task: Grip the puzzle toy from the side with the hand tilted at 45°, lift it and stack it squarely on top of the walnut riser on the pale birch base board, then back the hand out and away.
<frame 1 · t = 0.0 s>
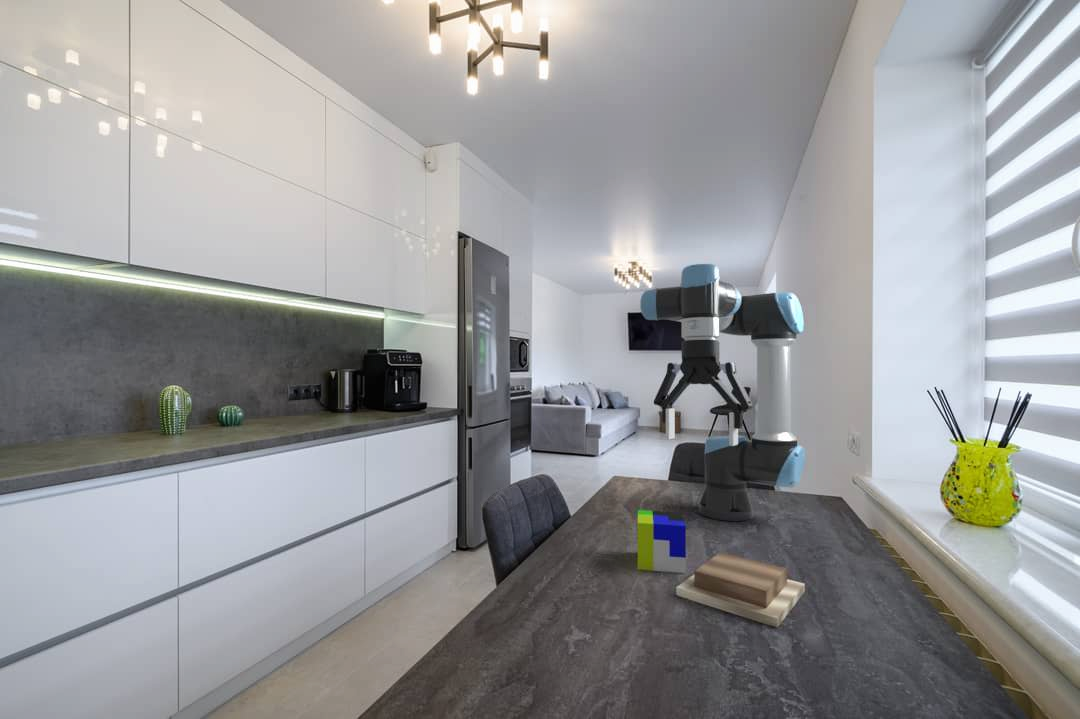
hand: (700, 441, 103), 28 cm above the table, tool pointing down, fingers open, 13 cm apart
build plinth: (741, 593, 95), on the table
puzzle toy: (660, 563, 111), on the table
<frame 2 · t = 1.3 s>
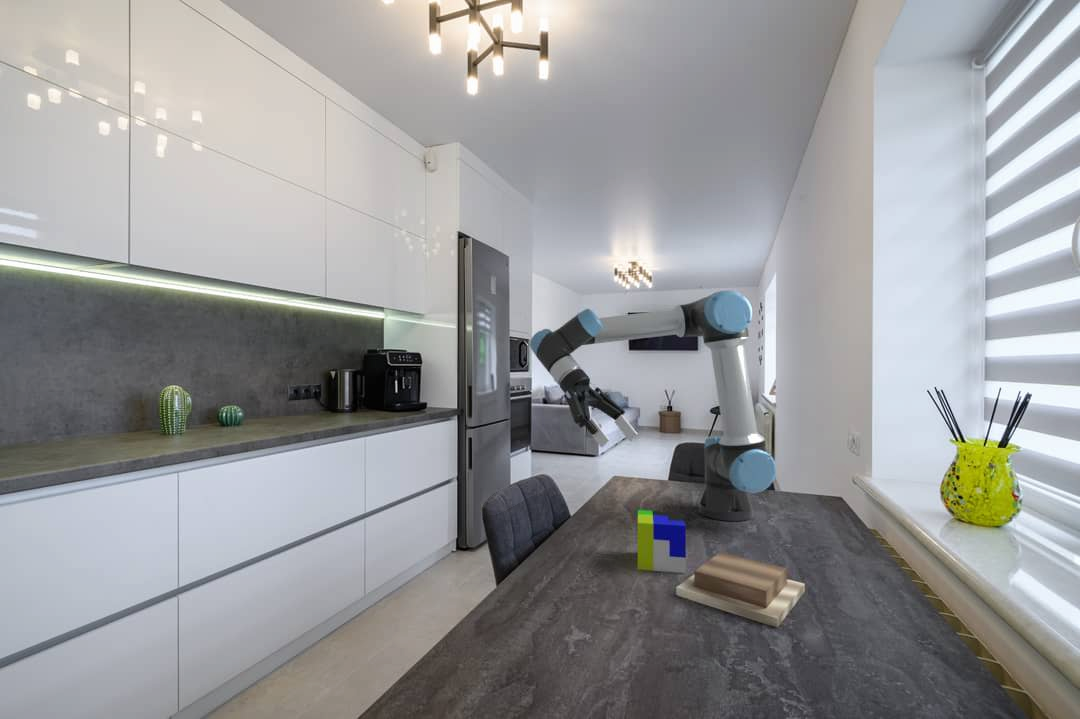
hand: (620, 440, 120), 26 cm above the table, tool tilted 45°, fingers open, 13 cm apart
nothing on the table moved.
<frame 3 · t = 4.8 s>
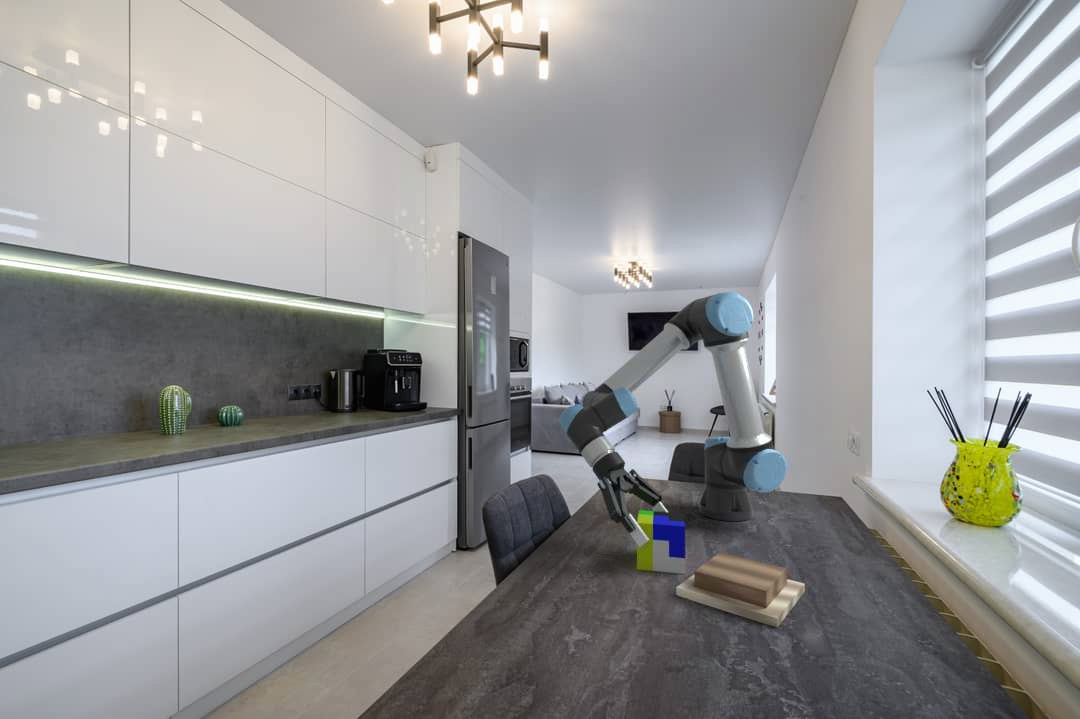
hand: (660, 536, 111), 6 cm above the table, tool tilted 45°, fingers open, 13 cm apart
puzzle toy: (660, 564, 111), on the table, touching gripper
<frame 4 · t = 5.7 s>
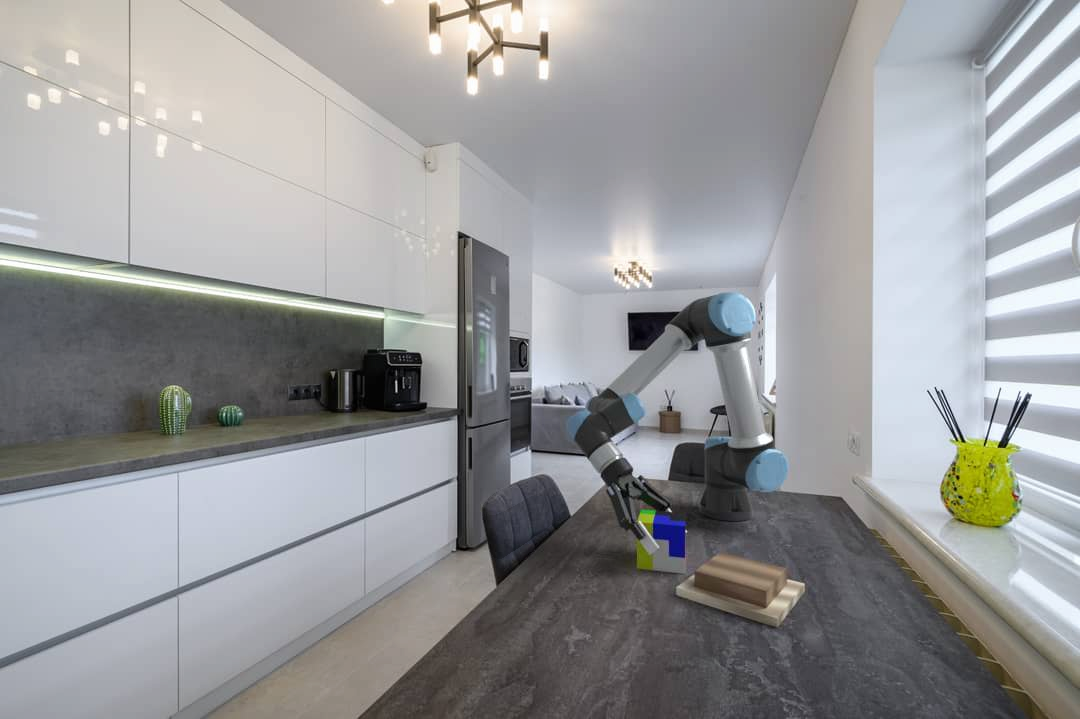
hand: (669, 543, 109), 5 cm above the table, tool tilted 45°, fingers closed on puzzle toy, 13 cm apart
puzzle toy: (662, 563, 111), on the table, touching gripper
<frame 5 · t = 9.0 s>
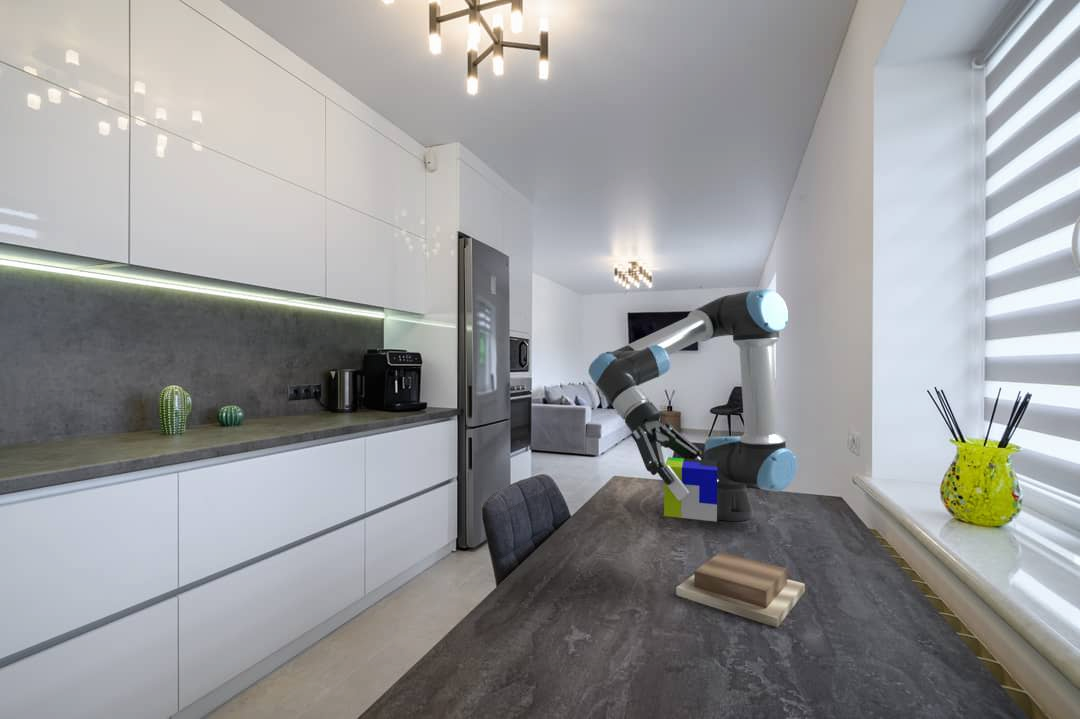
hand: (699, 490, 101), 18 cm above the table, tool tilted 45°, fingers closed on puzzle toy, 13 cm apart
puzzle toy: (690, 512, 103), point 13 cm above the table, touching gripper
when the fingers open (11 cm above the table, at t = 12.2 s): puzzle toy drops 1 cm, resting on build plinth.
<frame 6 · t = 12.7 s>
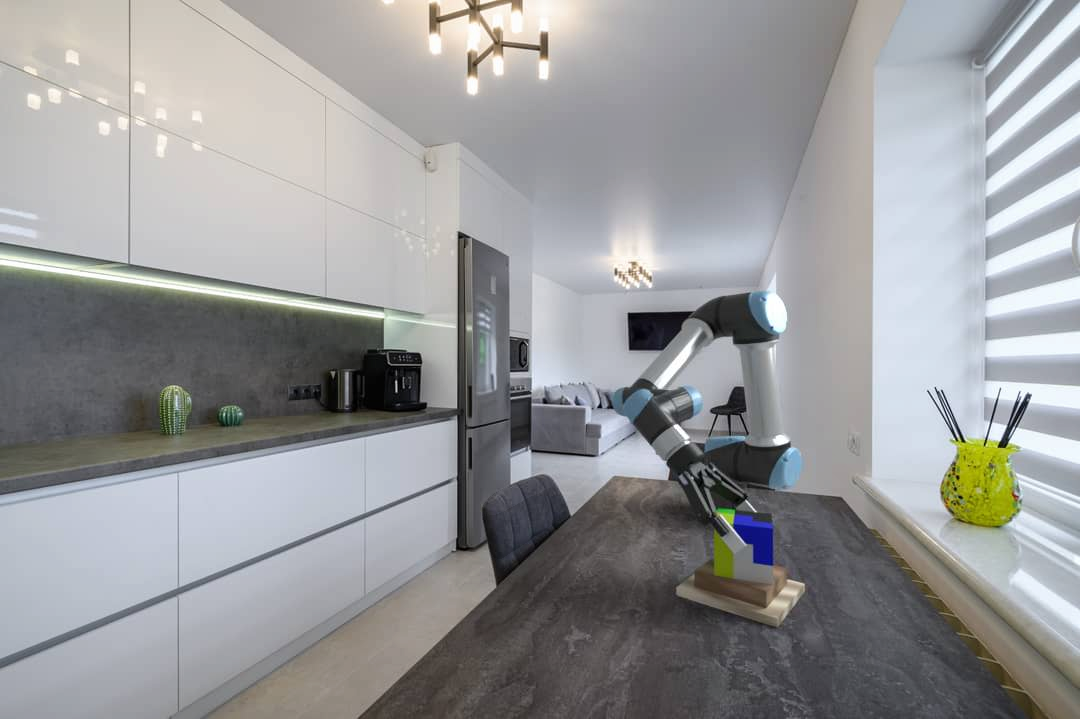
hand: (753, 540, 94), 11 cm above the table, tool tilted 45°, fingers open, 13 cm apart
puzzle toy: (743, 571, 95), point 4 cm above the table, touching build plinth, gripper
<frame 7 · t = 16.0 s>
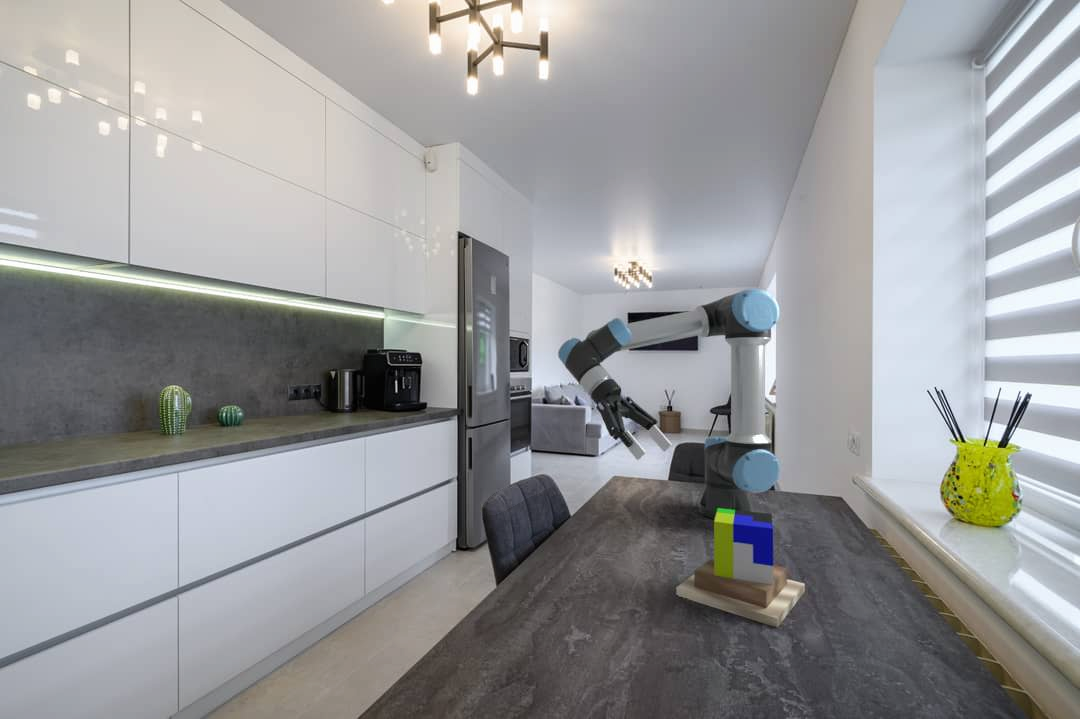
hand: (655, 452, 118), 23 cm above the table, tool tilted 45°, fingers open, 13 cm apart
puzzle toy: (743, 571, 95), point 4 cm above the table, touching build plinth
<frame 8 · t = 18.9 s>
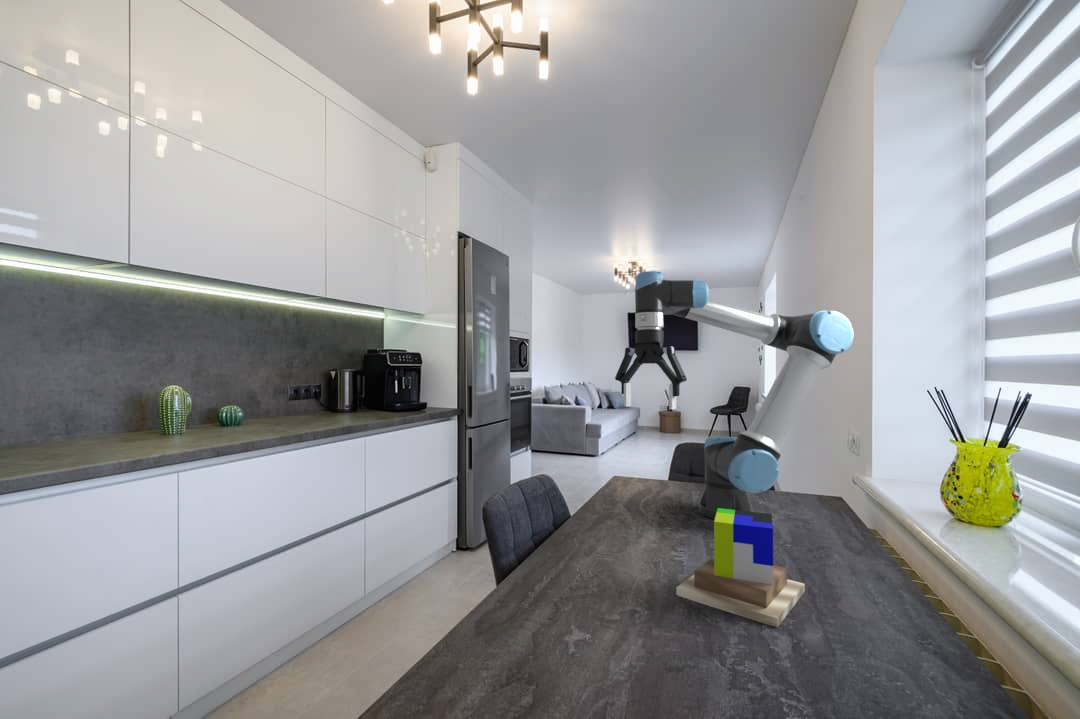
hand: (649, 407, 134), 33 cm above the table, tool pointing down, fingers open, 13 cm apart
nothing on the table moved.
at the end: puzzle toy inside the target area on the build plinth (0.4 cm from its centre), point 4.3 cm above the build plinth's base; puzzle toy tilted 0°; the gripper is holding nothing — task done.
